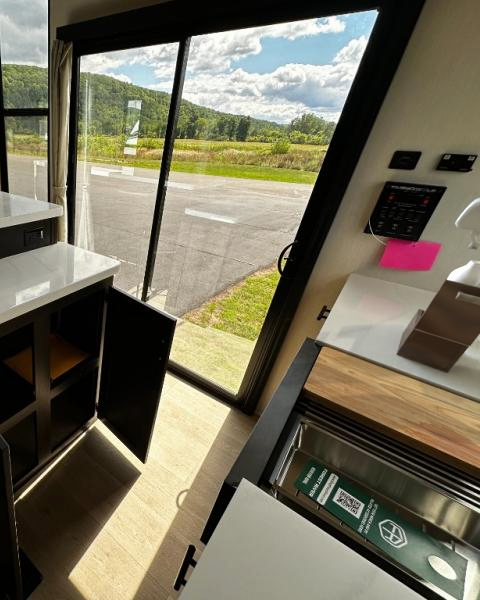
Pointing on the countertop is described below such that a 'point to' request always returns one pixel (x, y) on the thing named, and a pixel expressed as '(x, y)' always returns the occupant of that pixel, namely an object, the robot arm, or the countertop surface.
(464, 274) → the water bottle
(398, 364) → the countertop surface
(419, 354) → the chest
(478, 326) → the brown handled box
